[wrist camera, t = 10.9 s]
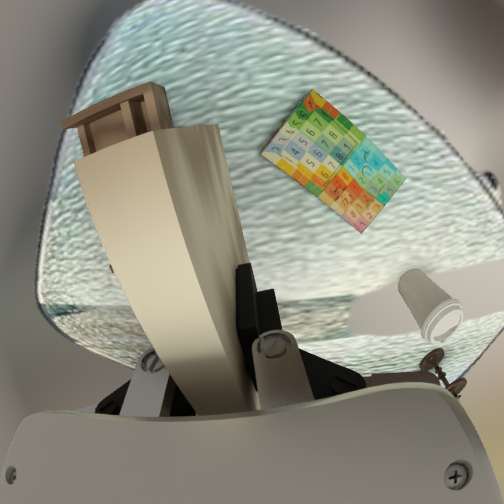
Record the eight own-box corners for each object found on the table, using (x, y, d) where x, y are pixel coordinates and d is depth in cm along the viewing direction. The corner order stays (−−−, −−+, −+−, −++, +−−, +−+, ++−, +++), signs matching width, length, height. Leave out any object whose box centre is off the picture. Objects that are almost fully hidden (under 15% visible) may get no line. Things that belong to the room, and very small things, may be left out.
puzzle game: (363, 236, 41) (261, 155, 34) (352, 224, 45) (258, 151, 39) (408, 180, 37) (314, 88, 30) (394, 173, 41) (305, 91, 35)
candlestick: (411, 374, 68) (454, 464, 36) (424, 350, 63) (477, 446, 32) (437, 366, 68) (481, 448, 37) (450, 342, 63) (503, 428, 32)
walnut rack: (202, 234, 44) (196, 255, 38) (126, 252, 44) (112, 272, 38) (164, 87, 33) (150, 81, 27) (84, 119, 34) (61, 121, 27)
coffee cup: (385, 300, 52) (417, 349, 39) (401, 260, 48) (443, 305, 35) (417, 301, 54) (450, 345, 40) (433, 264, 49) (474, 305, 36)
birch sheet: (259, 303, 22) (279, 472, 10) (241, 306, 22) (248, 475, 10) (217, 124, 16) (153, 131, 4) (195, 129, 16) (73, 161, 4)
